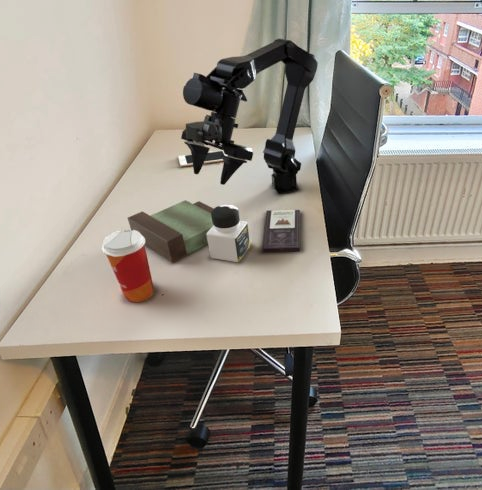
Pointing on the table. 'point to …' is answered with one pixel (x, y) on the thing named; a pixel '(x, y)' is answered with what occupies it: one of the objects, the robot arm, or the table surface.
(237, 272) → the table surface
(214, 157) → the cell phone
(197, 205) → the step shelf
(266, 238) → the chocolate bar
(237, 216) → the medicine bottle
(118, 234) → the paper cup
